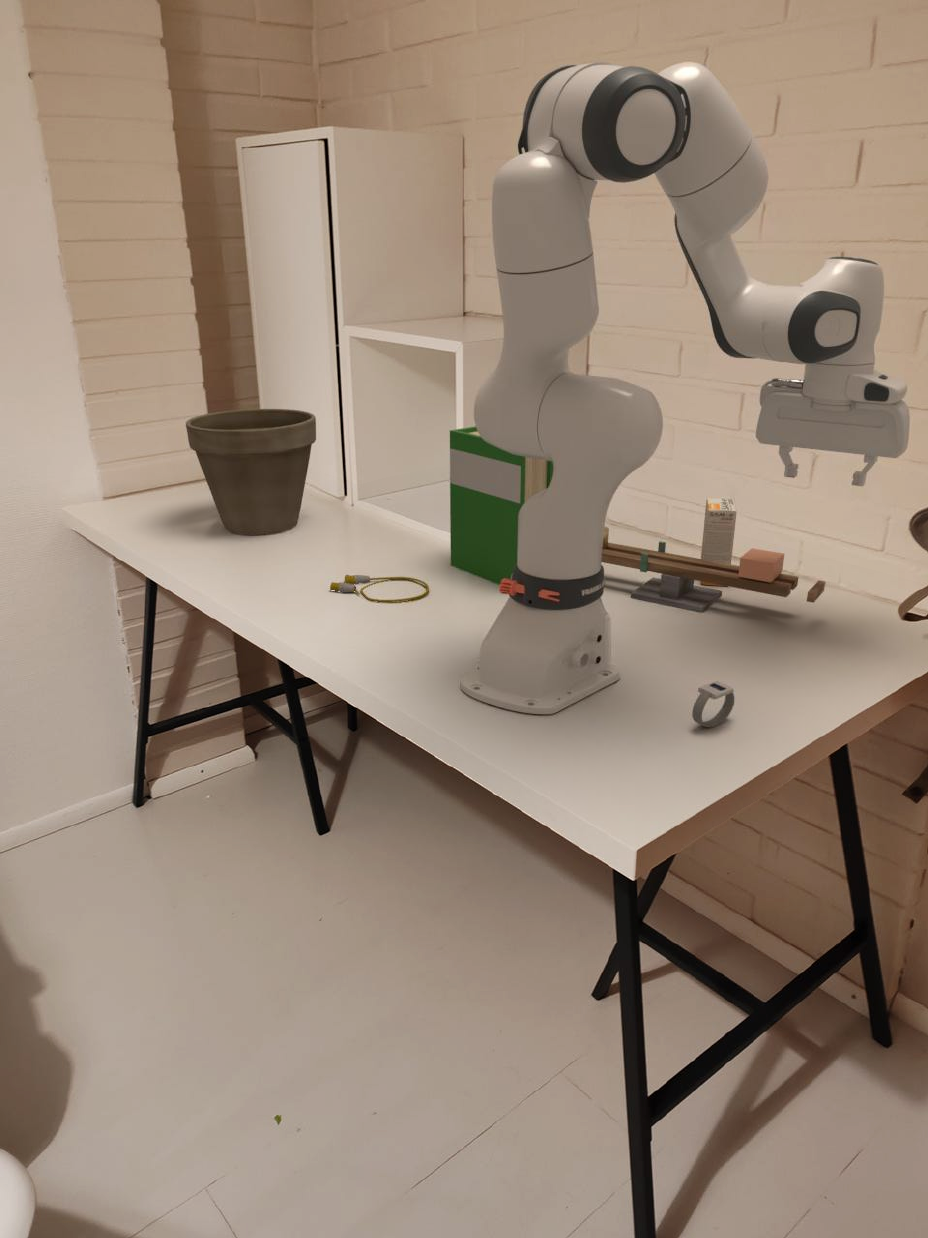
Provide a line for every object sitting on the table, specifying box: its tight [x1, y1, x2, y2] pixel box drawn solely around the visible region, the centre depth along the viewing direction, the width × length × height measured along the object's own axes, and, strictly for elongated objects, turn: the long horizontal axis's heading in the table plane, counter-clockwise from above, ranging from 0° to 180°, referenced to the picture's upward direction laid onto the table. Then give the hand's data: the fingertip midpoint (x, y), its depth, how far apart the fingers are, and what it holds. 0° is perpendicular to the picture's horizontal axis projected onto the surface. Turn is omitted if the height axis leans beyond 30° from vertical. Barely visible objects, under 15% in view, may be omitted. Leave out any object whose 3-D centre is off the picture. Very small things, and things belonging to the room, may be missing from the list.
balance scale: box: [601, 526, 826, 613], centre depth 154 cm, size 9×44×9 cm, turn 57°
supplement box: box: [700, 497, 738, 587], centre depth 162 cm, size 8×5×13 cm, turn 168°
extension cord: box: [329, 574, 430, 604], centre depth 159 cm, size 12×16×2 cm
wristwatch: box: [692, 680, 735, 728], centre depth 115 cm, size 6×3×5 cm, turn 126°
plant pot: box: [185, 408, 317, 536], centre depth 190 cm, size 25×25×22 cm
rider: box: [738, 547, 785, 582], centre depth 147 cm, size 6×5×5 cm
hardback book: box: [449, 425, 554, 586], centre depth 162 cm, size 18×7×24 cm, turn 40°
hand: (823, 480), depth 138 cm, fingers open, 8 cm apart
